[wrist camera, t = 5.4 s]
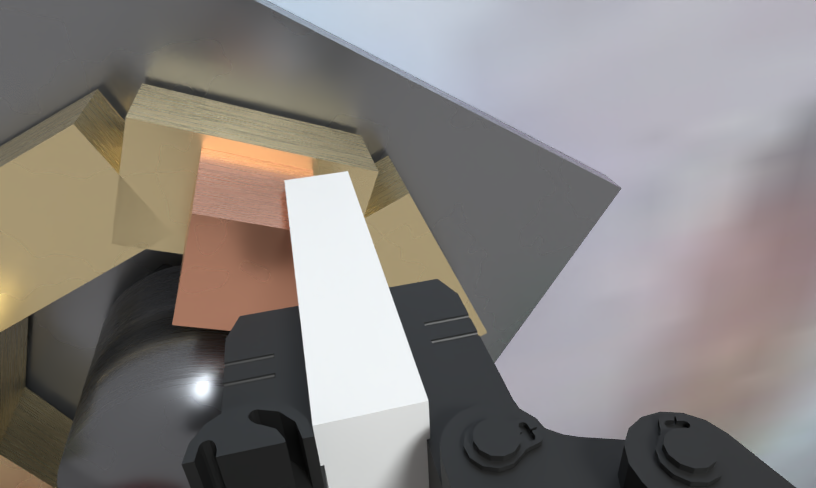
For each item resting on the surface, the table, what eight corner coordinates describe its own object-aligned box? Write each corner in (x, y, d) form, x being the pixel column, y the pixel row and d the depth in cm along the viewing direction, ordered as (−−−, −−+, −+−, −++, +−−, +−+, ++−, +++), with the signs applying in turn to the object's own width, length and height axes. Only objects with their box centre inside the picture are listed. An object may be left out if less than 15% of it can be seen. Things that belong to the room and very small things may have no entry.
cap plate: (-126, -203, 11) (-420, -273, 6) (605, 175, 20) (727, 272, 15) (-221, 483, 18) (-393, 707, 13) (347, 540, 27) (371, 687, 22)
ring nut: (-131, 18, 12) (-358, 100, 7) (522, 173, 17) (619, 273, 13) (-91, 515, 18) (-195, 715, 14) (372, 511, 24) (402, 653, 20)
